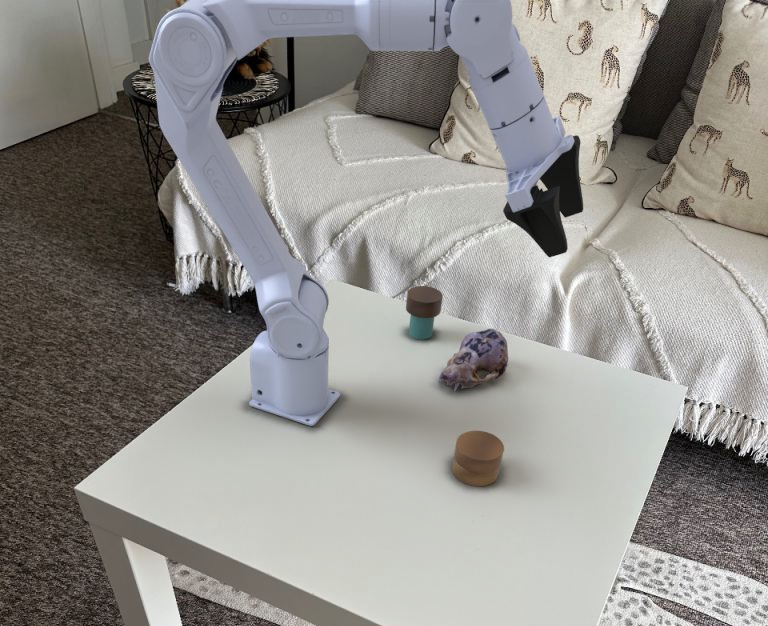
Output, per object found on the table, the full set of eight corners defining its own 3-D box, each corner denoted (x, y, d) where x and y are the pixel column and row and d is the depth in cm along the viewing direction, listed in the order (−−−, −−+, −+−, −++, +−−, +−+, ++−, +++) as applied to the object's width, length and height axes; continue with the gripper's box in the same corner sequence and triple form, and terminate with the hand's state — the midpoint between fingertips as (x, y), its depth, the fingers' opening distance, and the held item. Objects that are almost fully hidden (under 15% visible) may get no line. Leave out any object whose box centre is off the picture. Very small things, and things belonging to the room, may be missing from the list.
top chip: (447, 464, 83) (449, 450, 81) (463, 438, 86) (465, 425, 85) (492, 479, 81) (496, 465, 80) (507, 452, 85) (510, 439, 84)
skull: (457, 399, 95) (460, 356, 91) (418, 379, 100) (421, 338, 96) (517, 376, 101) (522, 335, 98) (478, 358, 106) (482, 319, 103)
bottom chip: (445, 477, 84) (447, 464, 83) (461, 451, 88) (463, 438, 86) (490, 492, 83) (492, 479, 81) (504, 465, 86) (507, 452, 85)
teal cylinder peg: (405, 335, 107) (407, 311, 105) (414, 325, 110) (416, 301, 107) (427, 342, 106) (430, 317, 104) (435, 331, 109) (438, 307, 106)
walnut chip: (400, 312, 104) (401, 296, 103) (413, 298, 108) (415, 282, 106) (433, 321, 103) (435, 305, 101) (445, 306, 107) (447, 291, 105)
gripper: (534, 131, 62) (587, 261, 70) (571, 60, 70) (615, 184, 78) (466, 161, 67) (523, 280, 74) (508, 90, 74) (555, 205, 82)
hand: (566, 232), depth 76 cm, fingers open, 7 cm apart
